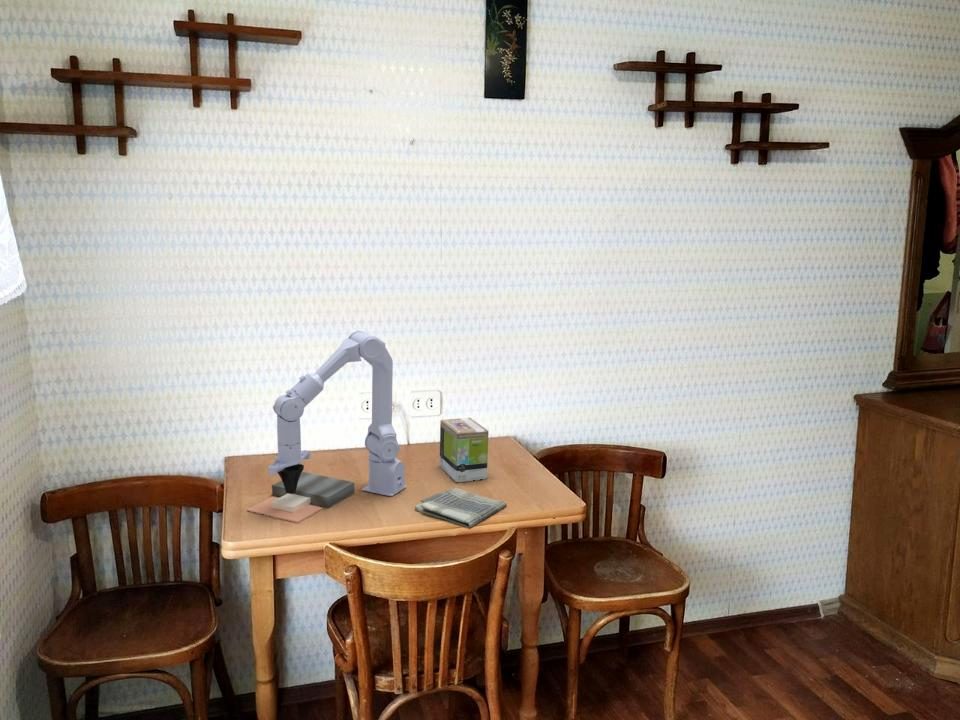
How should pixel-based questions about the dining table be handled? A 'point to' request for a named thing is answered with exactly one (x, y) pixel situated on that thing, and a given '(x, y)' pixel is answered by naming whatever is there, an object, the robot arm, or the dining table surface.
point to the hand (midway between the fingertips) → (290, 492)
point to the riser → (318, 489)
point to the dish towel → (460, 507)
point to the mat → (281, 514)
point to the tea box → (463, 449)
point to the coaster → (291, 502)
